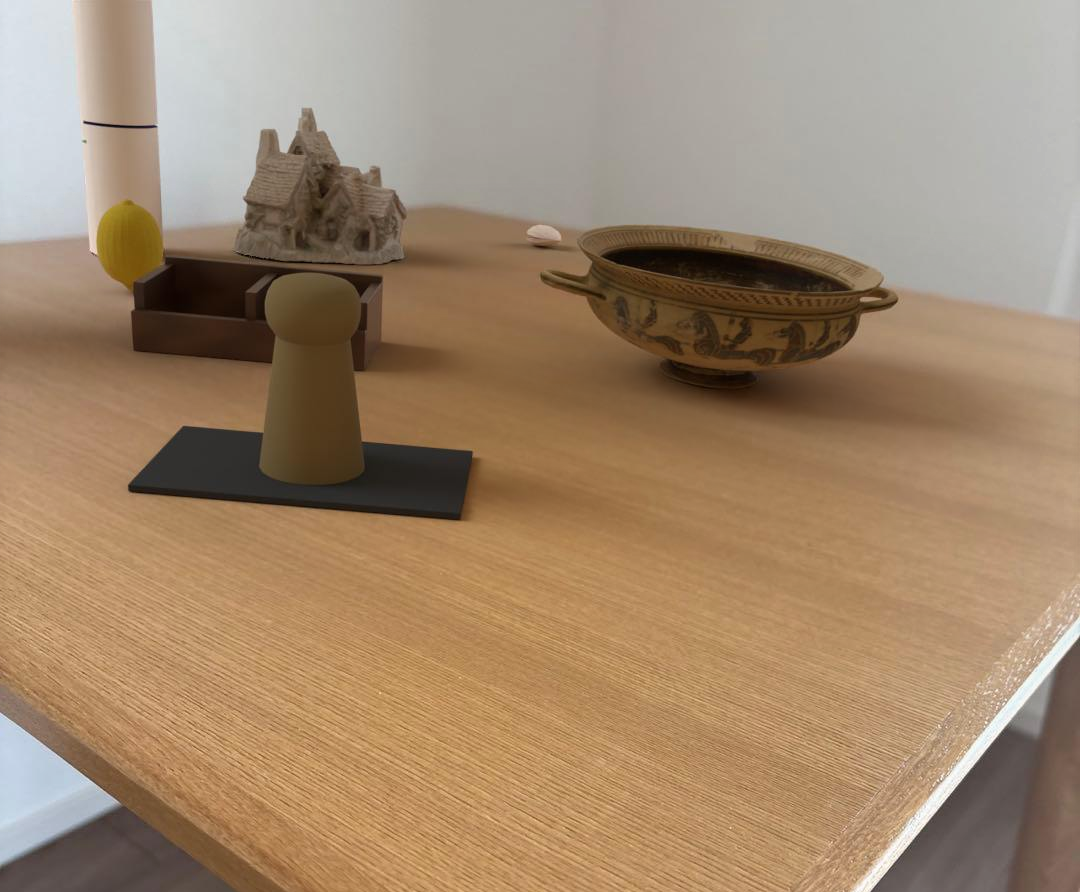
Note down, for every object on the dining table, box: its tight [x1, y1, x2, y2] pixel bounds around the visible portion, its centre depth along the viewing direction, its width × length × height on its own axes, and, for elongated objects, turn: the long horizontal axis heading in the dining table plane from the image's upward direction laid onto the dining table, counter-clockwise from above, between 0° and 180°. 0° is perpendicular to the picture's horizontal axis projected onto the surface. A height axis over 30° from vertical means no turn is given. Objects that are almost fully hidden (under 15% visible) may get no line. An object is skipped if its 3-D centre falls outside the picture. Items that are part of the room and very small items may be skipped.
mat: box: [127, 425, 474, 520], centre depth 66 cm, size 18×10×1 cm, turn 89°
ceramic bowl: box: [539, 224, 899, 390], centre depth 91 cm, size 30×24×10 cm
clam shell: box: [526, 224, 562, 247], centre depth 140 cm, size 4×5×2 cm
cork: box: [259, 273, 365, 485], centre depth 63 cm, size 6×6×11 cm
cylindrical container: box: [71, 0, 165, 254], centre depth 111 cm, size 7×7×25 cm
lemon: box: [96, 199, 164, 292], centre depth 100 cm, size 6×6×8 cm
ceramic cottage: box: [233, 107, 408, 265], centre depth 122 cm, size 16×16×15 cm
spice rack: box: [130, 254, 384, 372], centre depth 88 cm, size 17×9×6 cm, turn 89°
